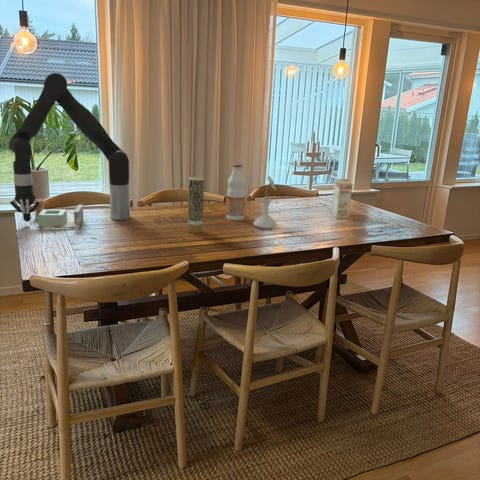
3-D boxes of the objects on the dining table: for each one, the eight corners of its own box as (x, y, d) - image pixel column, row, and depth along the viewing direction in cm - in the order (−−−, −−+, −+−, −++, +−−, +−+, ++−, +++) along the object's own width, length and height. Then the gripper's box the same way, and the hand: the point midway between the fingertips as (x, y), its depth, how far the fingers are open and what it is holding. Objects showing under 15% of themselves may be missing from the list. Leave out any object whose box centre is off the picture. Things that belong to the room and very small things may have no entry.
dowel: (45, 216, 225) (44, 199, 223) (43, 218, 221) (42, 201, 219) (36, 216, 224) (35, 199, 222) (35, 218, 221) (33, 201, 218)
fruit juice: (233, 221, 232) (236, 166, 223) (222, 217, 238) (224, 163, 230) (247, 219, 237) (250, 165, 229) (236, 215, 244) (238, 162, 236)
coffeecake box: (348, 219, 247) (353, 183, 241) (335, 218, 247) (339, 183, 241) (343, 212, 261) (347, 178, 255) (330, 212, 261) (334, 178, 256)
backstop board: (83, 220, 220) (82, 204, 218) (79, 228, 207) (78, 211, 205) (43, 221, 217) (42, 204, 215) (37, 229, 204) (35, 211, 201)
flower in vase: (274, 231, 218) (278, 179, 211) (251, 229, 220) (254, 177, 213) (278, 224, 230) (281, 175, 223) (255, 222, 232) (258, 173, 225)
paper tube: (203, 230, 215) (205, 177, 207) (201, 234, 208) (202, 179, 201) (189, 229, 215) (190, 176, 208) (186, 233, 209) (187, 178, 201)
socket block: (67, 219, 217) (66, 209, 216) (63, 225, 207) (62, 215, 206) (43, 219, 215) (42, 209, 214) (38, 225, 205) (37, 215, 204)
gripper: (41, 182, 208) (44, 218, 214) (10, 181, 206) (14, 219, 211) (37, 185, 201) (41, 223, 207) (5, 185, 199) (9, 223, 204)
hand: (27, 221), depth 209 cm, fingers closed
